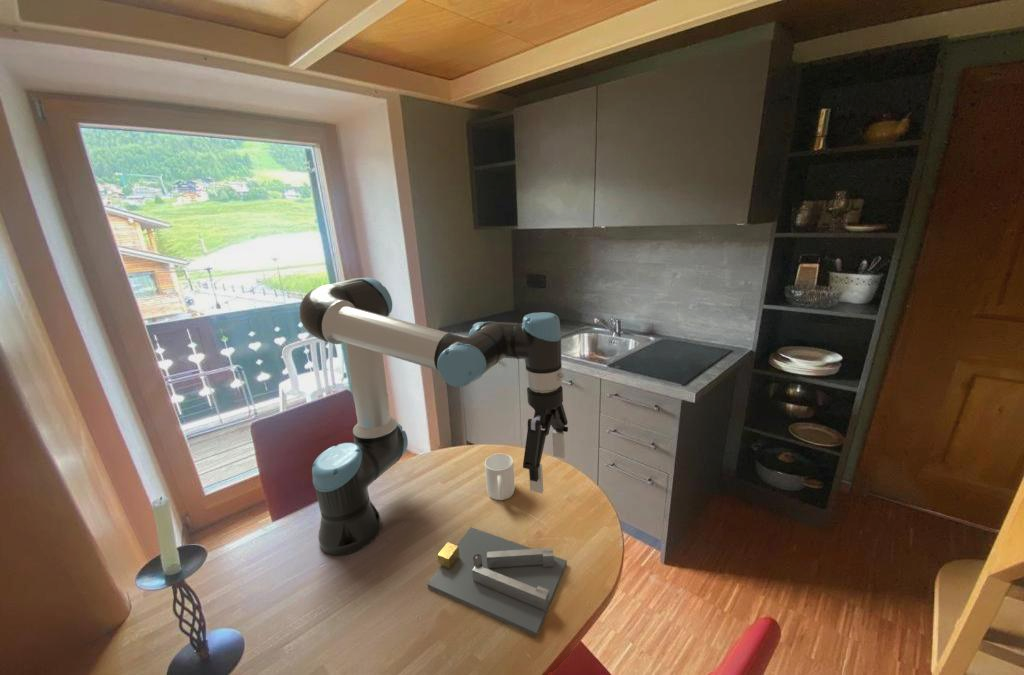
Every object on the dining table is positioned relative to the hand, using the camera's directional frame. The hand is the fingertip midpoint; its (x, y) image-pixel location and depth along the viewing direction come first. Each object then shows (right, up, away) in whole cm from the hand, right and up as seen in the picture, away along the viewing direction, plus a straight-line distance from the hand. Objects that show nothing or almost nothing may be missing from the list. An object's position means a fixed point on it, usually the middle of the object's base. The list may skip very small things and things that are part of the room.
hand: (548, 472), depth 88 cm
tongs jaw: (-6, -21, +1) cm, 22 cm away
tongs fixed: (-9, -23, -5) cm, 25 cm away
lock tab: (-23, -21, +3) cm, 32 cm away
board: (-11, -23, 0) cm, 26 cm away
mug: (-12, -16, +25) cm, 32 cm away
